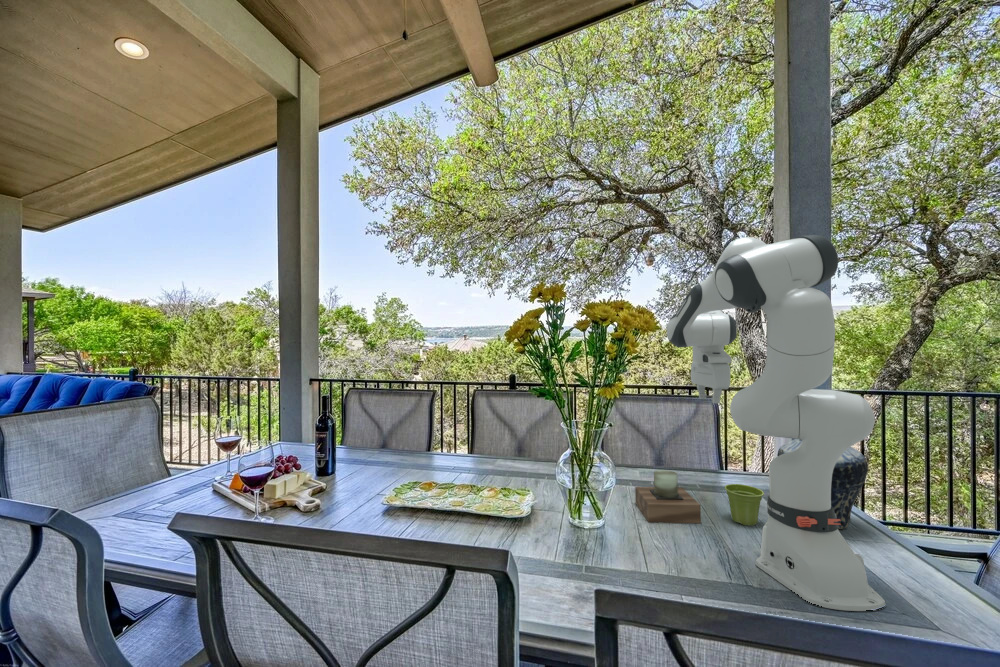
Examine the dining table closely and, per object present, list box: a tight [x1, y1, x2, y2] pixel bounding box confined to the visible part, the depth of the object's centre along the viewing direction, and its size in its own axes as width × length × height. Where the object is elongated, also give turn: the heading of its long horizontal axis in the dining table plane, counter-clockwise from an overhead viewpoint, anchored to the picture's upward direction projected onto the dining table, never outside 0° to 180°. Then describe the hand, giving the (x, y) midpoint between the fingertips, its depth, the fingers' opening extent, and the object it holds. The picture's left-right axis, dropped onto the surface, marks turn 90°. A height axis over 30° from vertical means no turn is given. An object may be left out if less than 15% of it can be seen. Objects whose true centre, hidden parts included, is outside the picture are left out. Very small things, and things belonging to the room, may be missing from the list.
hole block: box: [634, 486, 702, 524], centre depth 122 cm, size 14×14×5 cm
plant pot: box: [724, 483, 765, 526], centre depth 116 cm, size 9×9×9 cm
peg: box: [653, 469, 679, 498], centre depth 122 cm, size 6×6×10 cm
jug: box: [776, 438, 869, 530], centre depth 115 cm, size 21×19×30 cm
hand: (709, 400), depth 131 cm, fingers open, 8 cm apart
